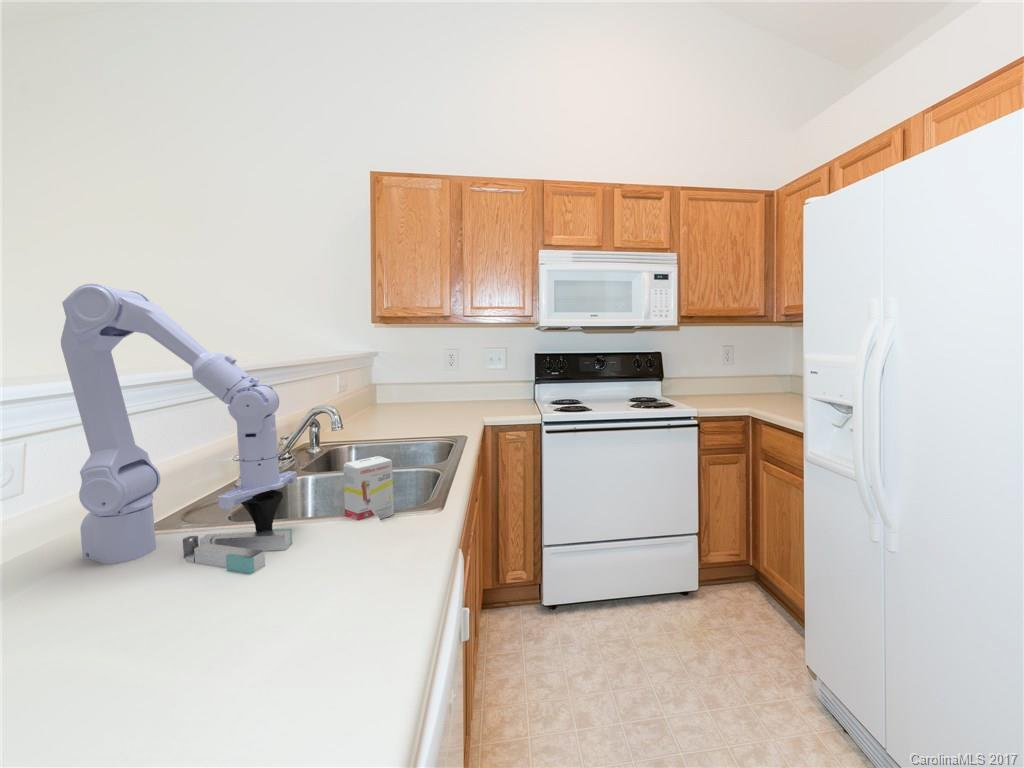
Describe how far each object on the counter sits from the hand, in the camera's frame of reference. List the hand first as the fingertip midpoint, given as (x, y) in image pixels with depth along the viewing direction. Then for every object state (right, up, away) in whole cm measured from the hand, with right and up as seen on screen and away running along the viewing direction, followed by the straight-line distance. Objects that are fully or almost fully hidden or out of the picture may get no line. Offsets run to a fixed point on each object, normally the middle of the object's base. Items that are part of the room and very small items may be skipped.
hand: (264, 535), depth 76 cm
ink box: (+14, -2, +14) cm, 20 cm away
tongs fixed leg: (-3, -2, -7) cm, 8 cm away
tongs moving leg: (-1, -1, -2) cm, 3 cm away
